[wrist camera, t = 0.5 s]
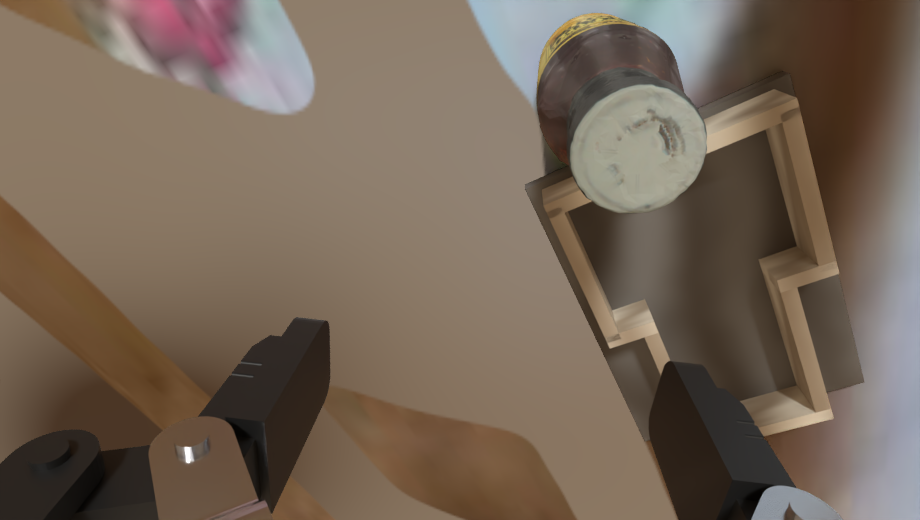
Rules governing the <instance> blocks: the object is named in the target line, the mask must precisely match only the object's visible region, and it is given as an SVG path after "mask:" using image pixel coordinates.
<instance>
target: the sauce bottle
mask: <svg viewBox="0 0 920 520" xmlns="http://www.w3.org/2000/svg"><path fill="white" fill-rule="evenodd" d="M537 108H538V115H539V121H540V128H541V130H542V133H543V135H544V137H545V140H546V142H547V143H548V145H549V147H550V148H551V149H552V151H553V152H554V154H555V155H556V156H557V157H558V159H559V160H560V161H561V162H564V163H565V164H567V165H569V167H570V170H571V173H572V176H573V178H574V181H575V182H576V184H577V186H578V187H579V189H580V190H581V192H582V193H583V194H584V196H585V197H586V198H588V199H589V200H591V201H592V202H594V203H595V204H596V205H598V206H600V207H602V208H604V209H606V210H609V211H612V212H616V213H623V214H631V213H646V212H651V211H654V210H657V209H660V208H662V207H664V206H666V205H668V204H670V203H671V202H673V201H674V200H676V199H677V198H678V197H679V196H680V195H681V194H683V193H684V192H685V191H686V190H687V189H688V187H689V186H690V185H691V184H692V183H693V182H694V181H695V180H696V178H697V176H698V174H699V172H700V170H701V168H702V166H703V165H704V158H705V155H706V152H707V144H706V140H707V132H706V125H705V122H704V120H703V118H702V117H701V115H700V113H699V111H698V109H697V107H696V106H695V105H694V104H693V103H692V102H691V100H690V99H689V98H688V97H687V96H686V95H685V93H684V89H683V85H682V81H681V78H680V74H679V70H678V66H677V62H676V59H675V56H674V54H673V53H672V51H671V49H670V48H669V47H668V45H667V44H666V43H665V42H664V41H663V40H662V39H661V38H660V37H658V36H657V35H656V34H654V33H652V32H651V31H649V30H648V29H646V28H644V27H640V26H638V25H636V24H635V23H632V22H629V21H626V20H623V19H620V18H618V17H615V16H612V15H608V14H602V13H591V14H584V15H581V16H578V17H575V18H573V19H571V20H569V21H567V22H566V23H564V24H563V25H562V26H561V27H559V28H558V29H557V30H556V31H555V32H554V33H553V35H552V36H551V37H550V38H549V40H548V41H547V43H546V45H545V47H544V49H543V51H542V54H541V58H540V62H539V70H538V82H537Z"/></svg>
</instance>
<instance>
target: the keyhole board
mask: <svg viewBox="0 0 920 520" xmlns="http://www.w3.org/2000/svg"><path fill="white" fill-rule="evenodd" d="M698 111H699V113H700V115H701V117H702V118H703V120H704V122H705V125H706V132H707V140H706V144H707V152H706V155H705V158H704V165H703V166H702V168H701V170H700V172H699V174H698V176H697V178H696V180H695V181H694V182H693V183H692V184H691V185H690V186H689V187H688V189H687V190H686V191H685V192H684V193H683V194H681V195H680V196H679V197H678V198H677V199H676V200H674V201H673V202H671V203H670V204H668V205H666V206H664V207H662V208H660V209H657V210H654V211H651V212H646V213H631V214H623V213H616V212H612V211H609V210H606V209H604V208H602V207H600V206H598V205H596V204H595V203H594V202H592V201H591V200H589V199H588V198H586V197H585V196H584V194H583V193H582V192H581V190H580V189H579V187H578V186H577V184H576V182H575V181H574V178H573V176H572V173H571V170H570V167H569V165H568V166H566V167H564V168H562V169H559V170H557V171H555V172H553V173H550V174H548V175H546V176H543V177H541V178H539V179H537V180H534V181H532V182H530V183H528V184H525V190H526V192H527V194H528V196H529V198H530V200H531V203H532V205H533V207H534V209H535V211H536V213H537V215H538V217H539V219H540V222H541V224H542V226H543V228H544V230H545V232H546V234H547V236H548V238H549V241H550V243H551V245H552V247H553V249H554V251H555V253H556V255H557V257H558V260H559V262H560V264H561V266H562V268H563V270H564V272H565V274H566V276H567V278H568V280H569V283H570V285H571V287H572V289H573V291H574V293H575V295H576V297H577V300H578V302H579V304H580V306H581V308H582V310H583V312H584V314H585V316H586V319H587V321H588V323H589V325H590V327H591V329H592V331H593V333H594V336H595V338H596V340H597V342H598V344H599V346H600V348H601V350H602V352H603V355H604V357H605V358H606V361H607V363H608V365H609V367H610V369H611V371H612V374H613V375H614V378H615V380H616V382H617V384H618V386H619V388H620V390H621V393H622V394H623V397H624V398H625V401H626V403H627V405H628V407H629V409H630V412H631V414H632V416H633V418H634V420H635V422H636V424H637V426H638V428H639V431H640V433H641V435H642V437H643V439H644V441H648V440H650V437H649V415H650V411H651V407H652V404H653V401H654V397H655V394H656V391H657V387H658V384H659V381H660V377H661V374H662V371H663V368H664V366H665V364H666V363H667V362H668V361H675V362H684V363H692V364H701V365H703V366H704V367H705V368H706V370H707V372H708V373H709V375H710V377H711V378H712V380H713V382H714V383H715V385H716V387H717V388H722V389H726V390H727V391H728V392H729V393H731V394H732V395H733V396H734V397H735V398H736V399H738V400H739V401H740V402H741V403H742V404H743V405H744V406H745V408H746V409H747V411H748V412H749V414H750V415H751V417H752V419H753V420H754V422H755V425H756V426H758V428H759V430H760V431H761V433H762V434H763V436H767V435H771V434H775V433H779V432H783V431H787V430H791V429H795V428H799V427H803V426H806V425H810V424H814V423H818V422H822V421H826V420H830V419H834V418H833V414H832V411H831V407H830V403H829V400H828V396H827V393H826V392H830V391H834V390H837V389H841V388H845V387H848V386H852V385H856V384H860V383H863V382H864V378H863V374H862V370H861V366H860V362H859V358H858V354H857V349H856V345H855V341H854V337H853V333H852V329H851V325H850V320H849V316H848V312H847V308H846V304H845V300H844V296H843V291H842V287H841V283H840V279H839V275H838V274H839V270H838V266H837V262H836V258H835V253H834V249H833V245H832V241H831V237H830V233H829V228H828V224H827V220H826V216H825V212H824V208H823V203H822V199H821V195H820V191H819V187H818V183H817V178H816V174H815V170H814V166H813V162H812V158H811V153H810V149H809V145H808V141H807V137H806V133H805V128H804V124H803V120H802V116H801V112H800V108H799V104H798V99H797V98H796V97H795V92H794V88H793V84H792V80H791V76H790V73H787V72H784V71H782V72H779V73H777V74H775V75H773V76H770V77H768V78H766V79H764V80H761V81H759V82H757V83H754V84H752V85H750V86H748V87H745V88H743V89H741V90H739V91H736V92H734V93H732V94H730V95H727V96H725V97H723V98H720V99H718V100H716V101H714V102H711V103H709V104H707V105H705V106H702V107H700V108H698Z"/></svg>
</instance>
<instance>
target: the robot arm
mask: <svg viewBox="0 0 920 520" xmlns="http://www.w3.org/2000/svg"><path fill="white" fill-rule="evenodd" d="M329 333H330V332H329V323H328V322H327V321H324V320H315V319H306V318H298V317H296V318H295V319H294V320H293V321H292V322H291V324H290V325H289V327H288V328H287V329H286V331H285V332H284V334H283V335H282V336H281V337H280V336H272V335H270V336H268V337H267V338H265V339H264V340H262V341H260V342H259V343H257V344H255V345H254V346H252V348H251V349H250V350H249V351H248V353H247V354H246V355H245V356H244V358H243V359H242V360H241V364H238V366H237V367H236V368H235V369H234V371H233V372H232V375H231V376H229V377H228V378H227V380H226V381H225V383H224V384H223V385H222V386H221V388H220V389H219V390H218V391H217V393H216V394H215V395H214V397H213V398H212V399H211V401H210V402H209V403H208V404H207V406H206V407H205V408H204V410H203V411H202V412H201V413H200V415H199V416H198V417H194V418H189V419H186V420H183V421H180V422H177V423H175V424H173V425H171V426H170V427H168V428H166V429H165V430H164V431H162V432H161V433H160V434H159V435H158V436H157V437H156V438H155V439H154V440H153V442H152V444H151V445H147V446H141V447H133V448H125V449H117V450H109V451H101V448H100V444H99V441H98V439H97V437H96V436H95V435H93V434H91V433H90V432H87V431H83V430H63V431H57V432H53V433H49V434H46V435H43V436H41V437H38V438H36V439H34V440H31V441H29V442H27V443H26V444H24V445H22V446H21V447H19V448H18V449H16V450H15V451H14V452H13V453H11V454H10V455H9V456H8V457H7V458H6V459H5V460H4V461H3V462H2V463H1V464H0V520H273V518H272V516H271V514H272V513H273V511H274V508H275V506H276V504H277V502H278V500H279V498H280V496H281V493H282V491H283V489H284V487H285V485H286V483H287V481H288V478H289V476H290V474H291V472H292V470H293V468H294V466H295V464H296V461H297V459H298V457H299V455H300V453H301V451H302V448H303V446H304V444H305V442H306V440H307V438H308V436H309V434H310V431H311V429H312V427H313V425H314V423H315V421H316V419H317V416H318V414H319V412H320V410H321V408H322V406H323V404H324V401H325V399H326V396H327V393H328V388H329V383H330V335H329ZM649 437H650V441H651V444H652V446H653V449H654V452H655V455H656V458H657V460H658V463H659V466H660V469H661V472H662V474H663V477H664V480H665V483H666V486H667V488H668V491H669V494H670V497H671V500H672V502H673V505H674V508H675V511H676V514H677V516H678V519H679V520H843V519H842V518H841V516H840V515H839V514H838V513H837V512H836V511H835V510H834V509H833V508H831V507H830V506H829V505H828V504H826V503H825V502H823V501H822V500H821V499H819V498H817V497H815V496H814V495H812V494H810V493H808V492H805V491H803V490H800V489H797V488H796V486H795V485H794V483H793V482H792V480H791V478H790V477H789V475H788V474H787V472H786V471H785V469H784V467H783V466H782V464H781V463H780V461H779V460H778V458H777V456H776V455H775V453H774V452H773V450H772V449H771V447H770V445H769V444H768V442H767V441H766V440H764V436H763V434H762V433H761V431H760V430H759V428H758V426H756V425H755V422H754V420H753V419H752V417H751V415H750V414H749V412H748V411H747V409H746V408H745V406H744V405H743V404H742V403H741V402H740V401H739V400H738V399H736V398H735V397H734V396H733V395H732V394H731V393H729V392H728V391H727V390H726V389H722V388H717V387H716V385H715V383H714V382H713V380H712V378H711V377H710V375H709V373H708V372H707V370H706V368H705V367H704V366H703V365H701V364H692V363H684V362H675V361H668V362H667V363H666V364H665V366H664V368H663V371H662V374H661V377H660V381H659V384H658V387H657V391H656V394H655V397H654V401H653V404H652V407H651V411H650V415H649Z"/></svg>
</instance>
